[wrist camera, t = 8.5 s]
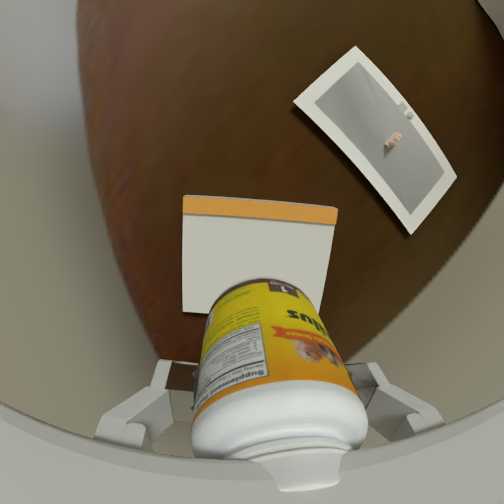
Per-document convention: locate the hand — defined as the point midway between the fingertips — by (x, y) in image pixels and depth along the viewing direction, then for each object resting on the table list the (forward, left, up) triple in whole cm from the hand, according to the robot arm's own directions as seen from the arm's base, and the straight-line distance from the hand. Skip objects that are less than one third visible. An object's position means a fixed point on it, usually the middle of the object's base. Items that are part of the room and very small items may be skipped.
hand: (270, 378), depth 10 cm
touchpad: (-10, -11, -14) cm, 21 cm away
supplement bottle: (0, 0, -5) cm, 5 cm away
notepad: (0, 0, -13) cm, 13 cm away
